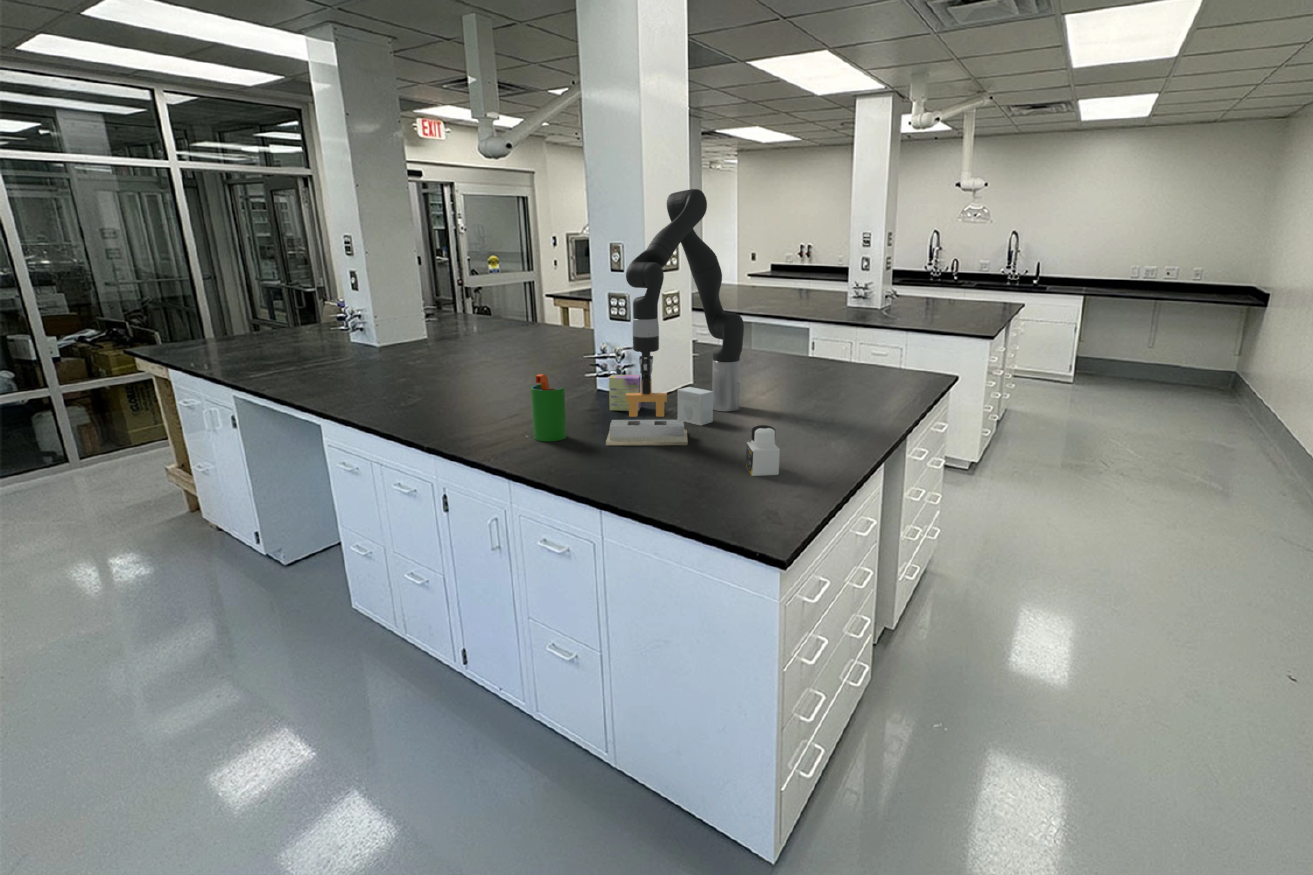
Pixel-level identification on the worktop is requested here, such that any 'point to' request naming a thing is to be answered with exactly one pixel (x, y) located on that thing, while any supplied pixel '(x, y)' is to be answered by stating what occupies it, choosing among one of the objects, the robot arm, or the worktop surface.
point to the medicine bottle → (762, 452)
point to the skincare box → (695, 405)
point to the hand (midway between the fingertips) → (646, 392)
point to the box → (623, 390)
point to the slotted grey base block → (647, 432)
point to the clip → (641, 397)
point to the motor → (548, 411)
